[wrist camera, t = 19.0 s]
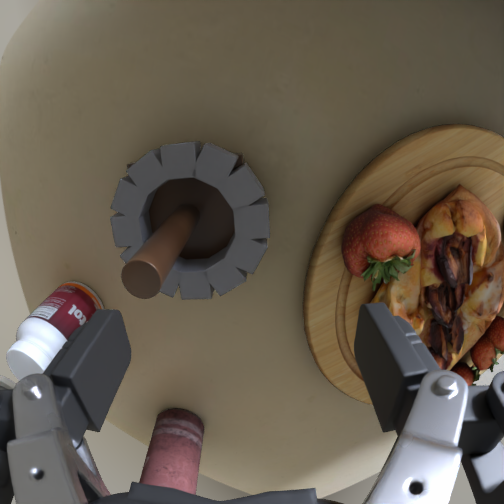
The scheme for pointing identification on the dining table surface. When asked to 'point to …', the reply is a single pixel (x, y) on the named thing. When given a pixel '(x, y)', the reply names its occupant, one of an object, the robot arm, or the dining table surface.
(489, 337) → the wooden plate
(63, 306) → the pill bottle
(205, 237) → the peg stand
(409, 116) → the dining table surface
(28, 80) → the dining table surface
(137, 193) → the gear
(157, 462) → the can
